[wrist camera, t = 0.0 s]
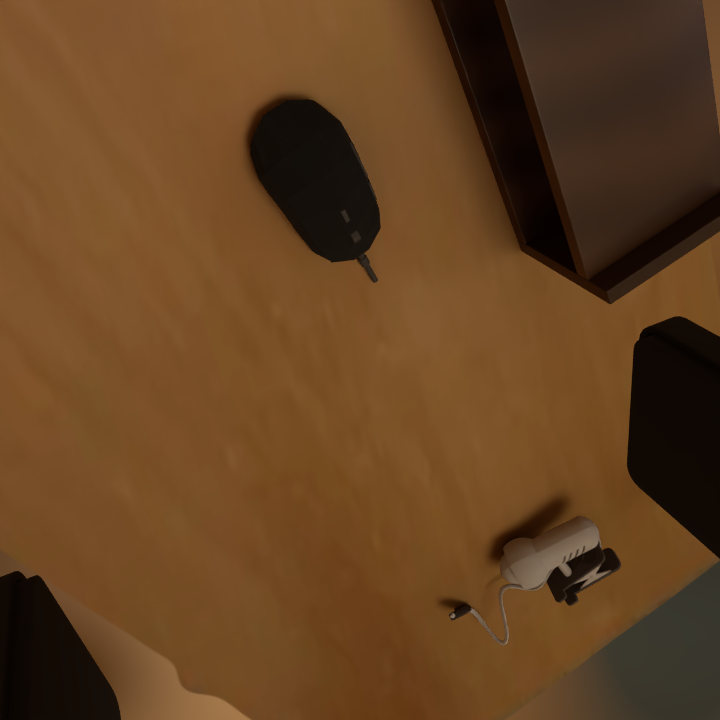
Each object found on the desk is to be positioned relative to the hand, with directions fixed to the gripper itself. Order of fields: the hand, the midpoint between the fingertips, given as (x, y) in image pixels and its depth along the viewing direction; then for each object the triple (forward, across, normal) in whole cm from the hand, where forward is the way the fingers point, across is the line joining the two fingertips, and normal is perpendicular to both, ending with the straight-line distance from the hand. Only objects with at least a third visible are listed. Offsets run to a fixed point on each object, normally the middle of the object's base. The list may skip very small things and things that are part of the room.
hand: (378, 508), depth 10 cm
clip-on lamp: (+38, -23, +54) cm, 70 cm away
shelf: (+37, -28, +4) cm, 47 cm away
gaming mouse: (+38, -10, +9) cm, 40 cm away
